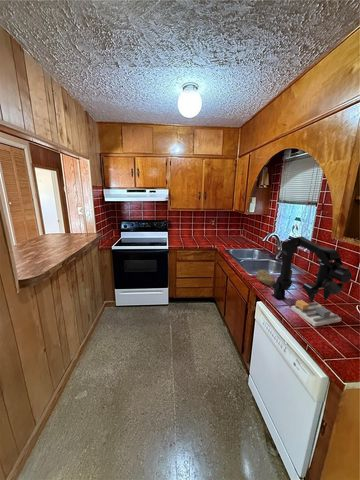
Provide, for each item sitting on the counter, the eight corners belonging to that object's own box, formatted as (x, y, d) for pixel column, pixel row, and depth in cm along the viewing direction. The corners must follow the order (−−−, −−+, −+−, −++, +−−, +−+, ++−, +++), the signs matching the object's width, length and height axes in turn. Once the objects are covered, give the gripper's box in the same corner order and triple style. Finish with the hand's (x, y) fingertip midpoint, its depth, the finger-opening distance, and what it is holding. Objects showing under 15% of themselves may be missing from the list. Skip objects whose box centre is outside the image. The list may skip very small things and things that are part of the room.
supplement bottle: (287, 278, 159) (290, 264, 156) (292, 282, 152) (295, 268, 149) (279, 278, 159) (281, 264, 156) (284, 282, 152) (286, 268, 149)
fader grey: (315, 313, 111) (316, 307, 110) (320, 312, 112) (322, 306, 111) (323, 319, 106) (324, 312, 105) (329, 318, 107) (330, 311, 106)
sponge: (255, 276, 164) (255, 282, 146) (258, 268, 163) (259, 272, 145) (271, 282, 160) (274, 288, 141) (274, 273, 159) (278, 278, 140)
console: (291, 308, 119) (291, 304, 118) (314, 305, 123) (315, 300, 122) (314, 326, 104) (315, 321, 103) (340, 321, 108) (342, 316, 107)
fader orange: (295, 306, 117) (296, 300, 116) (300, 305, 118) (301, 299, 117) (302, 311, 112) (303, 305, 111) (307, 310, 113) (308, 304, 112)
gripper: (325, 283, 88) (318, 312, 92) (356, 278, 93) (347, 307, 97) (304, 272, 98) (298, 299, 103) (333, 269, 103) (326, 295, 107)
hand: (318, 300), depth 102 cm, fingers open, 9 cm apart
